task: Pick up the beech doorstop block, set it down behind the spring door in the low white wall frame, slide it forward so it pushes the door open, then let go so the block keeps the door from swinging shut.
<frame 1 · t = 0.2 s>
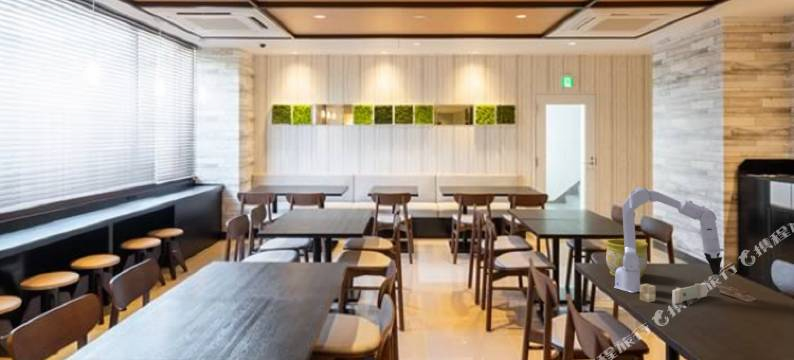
hand: (715, 272, 204), 10 cm above the table, tool pointing down, fingers open, 7 cm apart
door: (689, 293, 202), point 3 cm above the table, hinge at 0.0°
wooden fragment: (731, 294, 211), on the table
doorstop block: (647, 300, 202), on the table
wall frame: (688, 299, 202), on the table
flowerpot: (626, 276, 240), on the table
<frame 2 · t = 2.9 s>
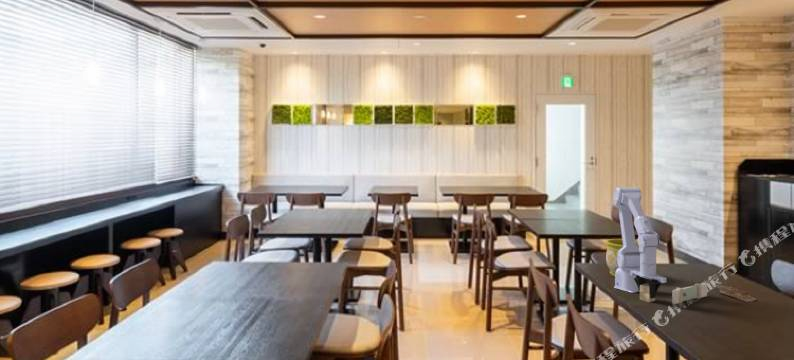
hand: (647, 296, 202), 1 cm above the table, tool pointing down, fingers closed on doorstop block, 4 cm apart
doorstop block: (647, 300, 202), on the table, touching gripper
everything else where it was.
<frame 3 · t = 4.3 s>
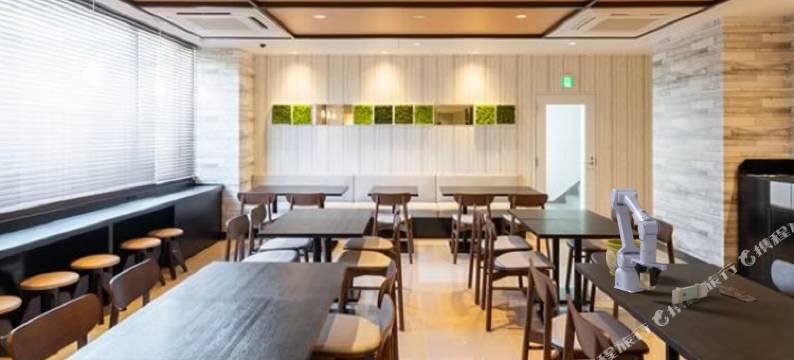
hand: (647, 284, 202), 6 cm above the table, tool pointing down, fingers closed on doorstop block, 4 cm apart
doorstop block: (647, 288, 202), point 5 cm above the table, touching gripper
everything else where it was.
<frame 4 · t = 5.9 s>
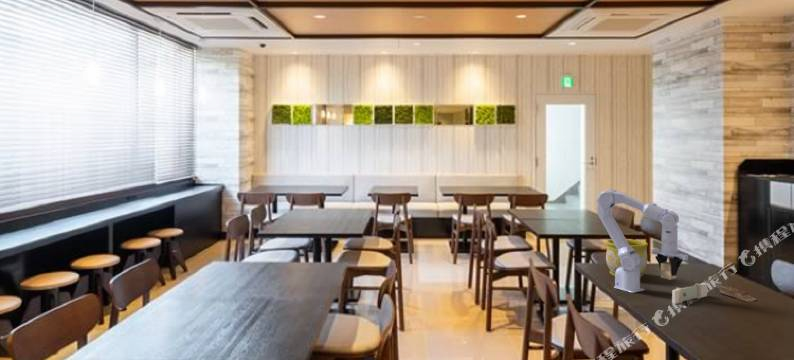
hand: (668, 274, 208), 9 cm above the table, tool pointing down, fingers closed on doorstop block, 4 cm apart
doorstop block: (668, 277, 208), point 7 cm above the table, touching gripper
everything else where it was.
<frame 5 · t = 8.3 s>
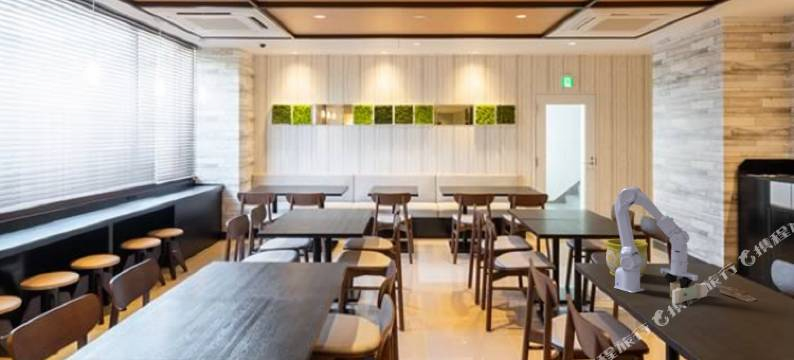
hand: (678, 294, 205), 2 cm above the table, tool pointing down, fingers closed on doorstop block, 4 cm apart
door: (689, 293, 201), point 3 cm above the table, hinge at 2.1°, touching gripper
doorstop block: (677, 297, 205), on the table, touching gripper
everything else where it was.
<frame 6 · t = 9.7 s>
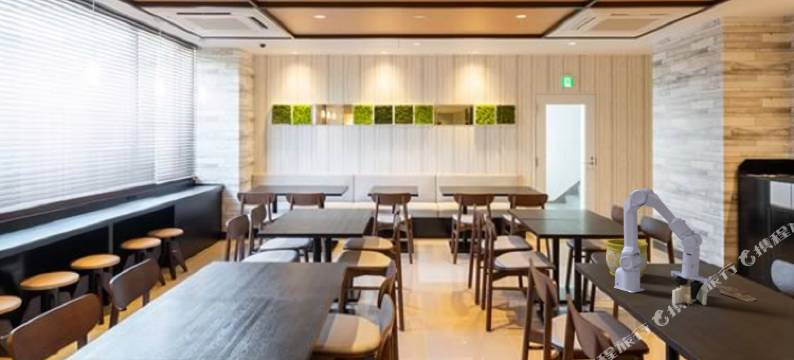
hand: (688, 297, 201), 1 cm above the table, tool pointing down, fingers closed on doorstop block, 4 cm apart
door: (701, 295, 199), point 3 cm above the table, hinge at 45.9°, touching gripper, wall frame
doorstop block: (687, 300, 201), on the table, touching gripper
everything else where it was.
when the fingers open (2 cm above the table, at t = 11.9 s): doorstop block drops 1 cm, on the table.
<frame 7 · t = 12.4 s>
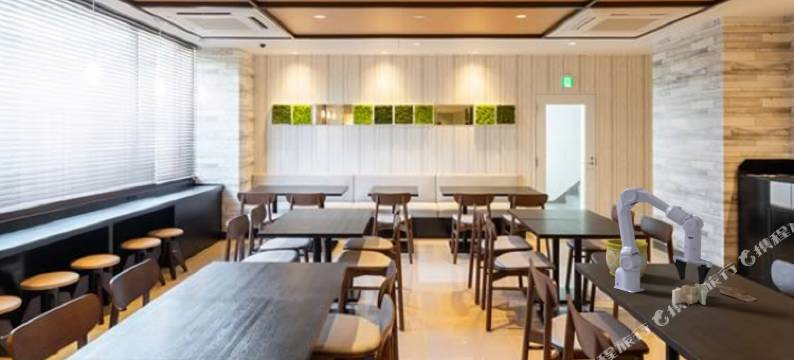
hand: (691, 281, 199), 8 cm above the table, tool pointing down, fingers open, 7 cm apart
door: (701, 295, 199), point 3 cm above the table, hinge at 44.7°
doorstop block: (689, 301, 200), on the table
everything else where it was.
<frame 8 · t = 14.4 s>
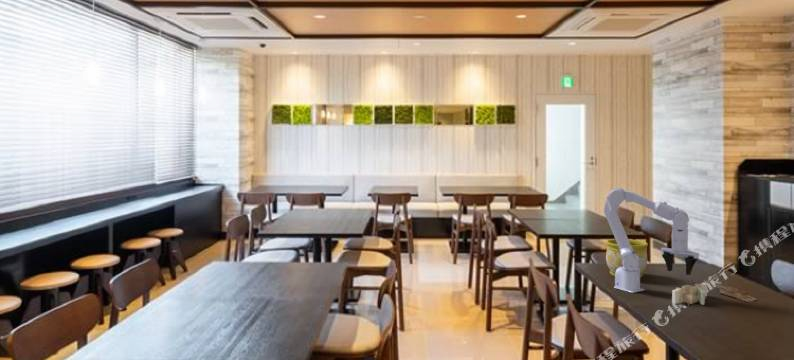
hand: (679, 272, 208), 9 cm above the table, tool pointing down, fingers open, 7 cm apart
door: (700, 295, 199), point 3 cm above the table, hinge at 42.8°
everything else where it was.
at the end: door at +43° (first picture: +0°); doorstop block inside the target area (0.9 cm from its centre), on the table; the gripper is holding nothing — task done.
